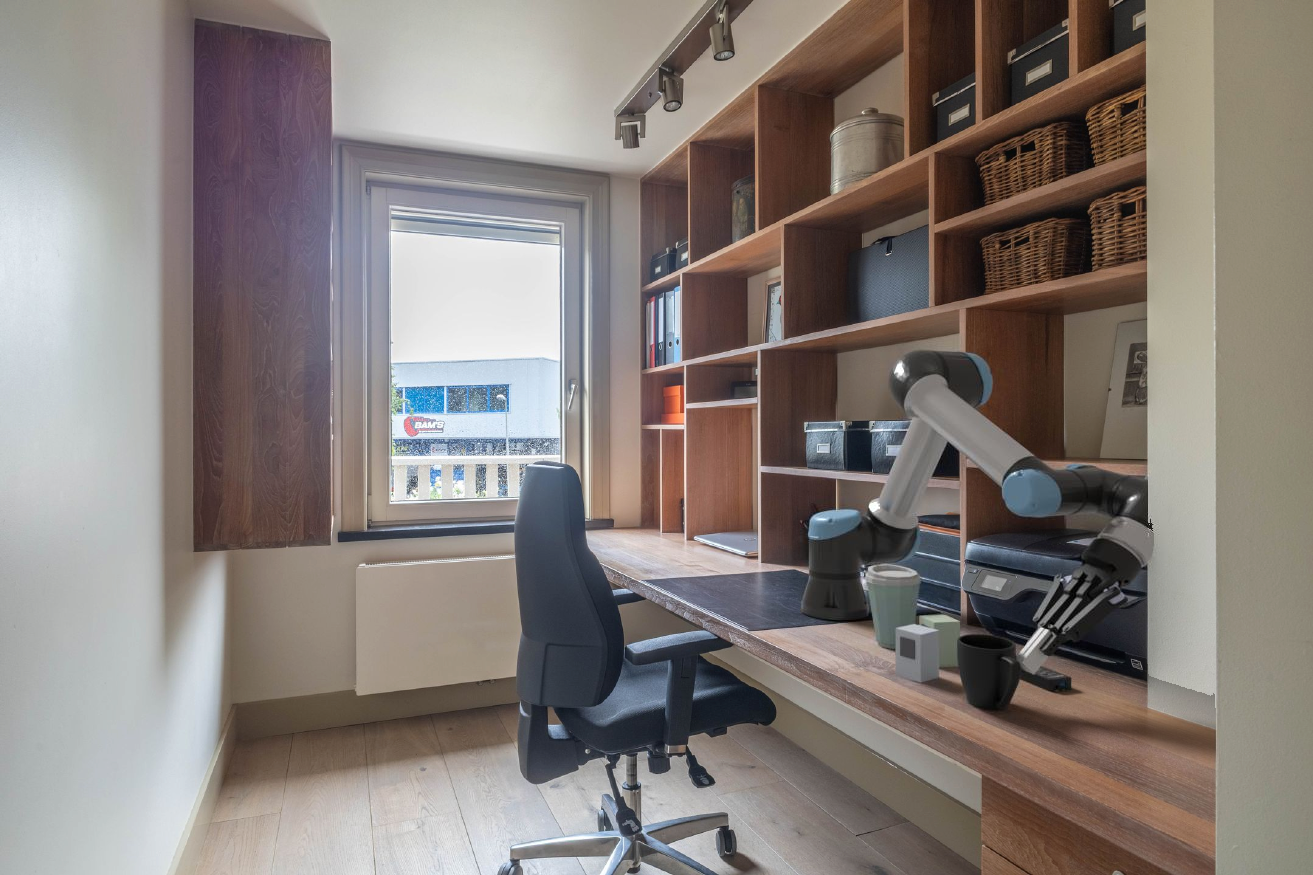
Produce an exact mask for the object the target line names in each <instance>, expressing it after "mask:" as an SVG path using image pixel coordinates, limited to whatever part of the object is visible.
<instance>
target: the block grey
mask: <svg viewBox="0 0 1313 875" xmlns="http://www.w3.org/2000/svg"><path fill="white" fill-rule="evenodd" d="M895 675H896V676H898V677H901V678H904V679H908V680H910V681H913V682H917V683H921V684H922V683H924V682H928V681H931V680H935V679H938V678H940V667H939V630H936V629H932V628H928V627H924V626H920V625H919V624H916V623H915V624H912V625H907V626H903V627H898V628H896V649H895Z"/></svg>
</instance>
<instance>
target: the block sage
mask: <svg viewBox="0 0 1313 875" xmlns="http://www.w3.org/2000/svg"><path fill="white" fill-rule="evenodd" d="M918 620H919V624H918V625H920V626H924V627H928V628H932V629H936V630H939V668H953V667H957V668H958V660H957V639H958V638H959V637H960V636H961V621H960V620H958V619H955V618H953V617H950V616H949V615H947V614H932V615H931V614H929V615H925V614H924V615H919V619H918Z"/></svg>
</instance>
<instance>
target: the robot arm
mask: <svg viewBox="0 0 1313 875" xmlns="http://www.w3.org/2000/svg"><path fill="white" fill-rule="evenodd" d="M993 382H994V380H993V374H991V368H990V367H989V365H988V363H987V362H986V360H984V358H983V357H981V356H979V355H978V354H975V353H972V352H971V353H970V352H965V351H960V350H957V351H947V350H945V351H944V350H932V349H931V350H929V349H915V350H911V351H908V352H906V353H903V355H901V356H900V357H898V359H897V360H896V361H895V362H894V363H893V364H892V366H891V368H890V369H889V373H888V377H887V385H888V390H889V393H890V396H891V397H892V399H893V401H894V402H895V403H896V405H898V407H899V408H900V409H902V410H903V411H904V412H905V413H906V414H907V415H909V416H910V417H912V419H911V421H910V424H909V427H908V428H907V431H906V434H905V436H904V438H903V440H902V443H901V445H900V448H899V449H898V453H897V455H896V457H895V459H894V462H893V465H892V467H891V469H890V471H889V474H888V476H887V478H886V481H885V484H884V486H883V488H882V490H881V493H880V495H879V497H877V498H874V499H872V500H871V501H870V502H869V504H868V506H867V509H866V511H865V513H864V514H861V513H860V511H858V510H856V509H846V508H845V509H838V510H836V509H832V510H826V511H821V512H818V513H815V514H813V515H812V516H811V517H810V519H809V526H808V533H807V535H808V536H807V537H808V580H807V584H806V586H805V590H804V594H803V597H802V599H801V602H800V604H801V607H800V608H801V613H803V614H805V615H806V616H809V617H813V618H817V619H823V620H831V621H851V620H860V619H863V618H864V619H865V618H866V617H868V616H869V615H870V613H869V610H870V609H869V606H870V605H869V603H868V600H867V597H866V592H865V589H864V587H863V586H864V585H863V584H862V579H861V577H862V576H861V572H862V570H861V567H862V566H868V565H871V566H872V565H883V564H888V565H893V564H898V563H899V562H905V561H907V560H910V558H912V557H913V556H914V555H915V554H916V552H917V551H918V549H919V547H920V544H921V540H922V537H921V536H920V533H921V528H920V525H919V518H918V516H917V514H916V511H917V509H918V507H919V504H920V502H921V500H922V498H923V496H924V495H925V492H926V489H927V487H928V485H929V483H930V481H931V478H932V477H933V474H934V473H935V470H936V468H937V465H938V463H939V461H940V459H941V456H942V455H943V452H944V451H945V448H946V446H947V443H949V444H950V445H952V446H953V447H954V448H955V449H956V450H958V451H959V452H960V453H961V454H962V455H963V456H964V457H966V458H967V459H968V460H969V461H970V462H971V463H973V464H974V465H975V466H976V467H977V468H978V469H980V470H981V471H982V472H983V473H984V474H985V475H987V477H989V478H990V479H991V480H993V482H995V483H996V484H997V485H998V486H999V487H1001V494H1002V495H1001V496H1002V499H1003V500H1004V502H1005V506H1006V507H1007V509H1008V510H1009V511H1010V512H1012V513H1013V514H1015V515H1017V516H1021V517H1028V518H1029V517H1031V518H1045V517H1056V516H1070V515H1072V516H1074V515H1086V514H1087V515H1088V514H1094V515H1099V516H1102V517H1106V518H1108V519H1110V521H1109V522H1108V523H1107V524H1106V526H1105V527H1104V528H1103V529H1102V530H1101V532H1100V533H1098V534H1097V538H1095V539H1093V540H1092V541H1091V542H1090V544H1089V545H1088V546H1087V547H1086V549H1085V550H1084V551H1083V552H1082V553H1081V565H1080V566H1078V567H1077V568H1076V569H1075V570H1073V572H1072V573H1071V574H1070V575H1067V576H1063V575H1062V573H1058V574H1055V576H1054V579H1053V584H1052V586H1051V588H1050V589H1049V591H1048V592H1047V594H1046V595H1045V598H1044V599H1043V601H1042V602H1041V604H1040V606H1039V608H1037V611H1036V612H1035V614H1034V616H1033V618H1032V621H1033V622H1034V623H1035V624H1036V626H1037V628H1036V630H1035V631H1034V632H1033V634H1032V635H1031V636H1030V638H1028V640H1027V642H1026V644H1025V646H1024V647H1023V648H1022V649H1021V650H1020V651H1019V653H1018V654H1016V660H1018V661H1019V663H1020V664H1021V667H1022V668H1023V669H1024V670H1025V671H1027V672H1030V673H1031V674H1033V675H1034V674H1035V673H1036V671H1037V670H1038V669H1039V668H1040V666H1043V665H1044V663H1045V662H1046V661H1047V659H1049V657H1051V656H1053V654H1054V653H1055V652H1056V651H1057V650H1058V649H1059V647H1060V646H1061V645H1062V644H1063V643H1067V642H1068V641H1072V642H1073V643H1078V642H1079V641H1081V639H1083V638H1084V637H1085V636H1086V635H1087V634H1089V633H1090V632H1091V631H1092V630H1093V629H1094V628H1095V627H1097V625H1099V624H1100V623H1101V622H1102V621H1103V620H1104V619H1106V618H1107V616H1109V615H1110V614H1111V613H1112V612H1113V611H1115V610H1116V609H1117V608H1119V607H1122V606H1123V605H1125V604H1127V603H1128V601H1129V598H1128V597H1127V596H1126V595H1125V593H1123V592H1122V591H1121V589H1122V588H1123V587H1128V586H1130V585H1131V583H1132V582H1133V581H1134V580H1135V579H1136V577H1137V576H1138V575H1140V572H1141V571H1142V570H1143V569H1142V568H1143V567H1146V566H1147V565H1148V564H1149V562H1150V561H1151V560H1152V559H1151V557H1152V553H1153V550H1154V549H1153V547H1154V533H1153V532H1152V531H1153V530H1152V529H1153V528H1152V525H1153V524H1152V523H1151V519H1150V523H1148V474H1146V476H1145V477H1144V478H1140V477H1136V476H1130V475H1126V474H1123V473H1119V472H1115V471H1111V470H1107V469H1104V468H1100V467H1097V466H1095V465H1092V464H1088V465H1087V464H1082V463H1071V464H1068V465H1067V466H1065V467H1063V468H1062V469H1056V468H1055V469H1054V468H1052V467H1050V466H1049V465H1047V464H1046V463H1045V462H1043V461H1042V460H1041V459H1040V458H1038V457H1037V456H1036V455H1034V454H1033V453H1031V451H1029V450H1028V449H1027V448H1025V447H1024V446H1023V445H1021V444H1020V443H1019V442H1018V441H1016V440H1015V439H1014V438H1012V437H1011V436H1010V435H1009V434H1008V433H1006V432H1005V431H1003V430H1002V429H1001V428H1000V427H999V426H998V425H996V424H995V423H993V422H992V421H991V420H989V419H988V418H987V417H986V416H985V415H983V414H981V412H979V411H978V410H977V408H978V407H981V406H983V405H985V403H987V402H988V400H989V399H990V397H991V394H992V391H993V384H994V383H993ZM1149 524H1150V525H1149ZM1148 528H1149V529H1151V530H1152V531H1151V530H1150V531H1149V529H1148ZM1148 533H1149V537H1148ZM1152 558H1153V557H1152ZM1150 559H1151V560H1150ZM1149 560H1150V561H1149Z"/></svg>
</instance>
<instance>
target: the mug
mask: <svg viewBox="0 0 1313 875" xmlns="http://www.w3.org/2000/svg"><path fill="white" fill-rule="evenodd" d="M1016 656H1017V644H1016V643H1015V641H1013V640H1011V639H1009V638H1006V637H1002V636H999V635H998V636H997V635H992V634H984V633H971V634H964V635H960V637H959V638H958V639H957V660H958V666H957V668H958V672H959V677H960V681H961V684H962V687H963V691H964V695H965V697H966V702H967V703H968V704H969V705H970V706H972V707H975V708H978V709H980V710H981V709H982V710H986V711H998V710H999V711H1000V710H1004V709H1006V708H1007V707H1008V706H1009V705H1010V703H1011V702H1012V699H1013V697H1014V695H1015V693H1016V690H1017V688H1018V686H1019V684H1020V677H1021V664H1020V663H1019V661H1018V660H1016Z"/></svg>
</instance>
